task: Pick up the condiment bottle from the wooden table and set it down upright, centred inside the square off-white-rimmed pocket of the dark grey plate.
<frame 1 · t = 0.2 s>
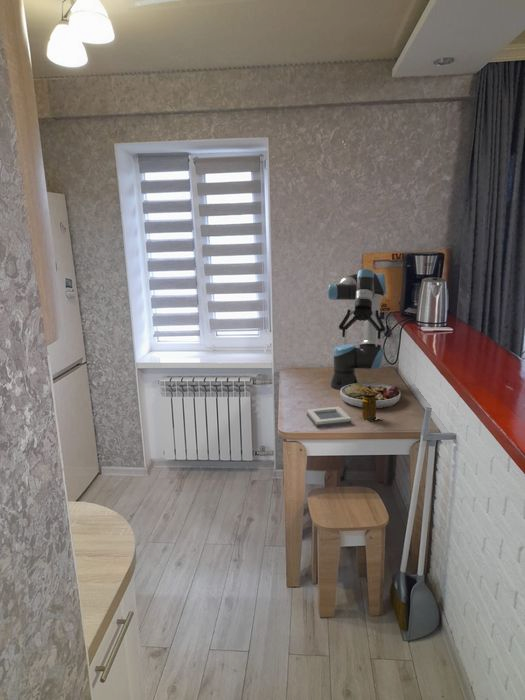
hand: (360, 344, 207), 35 cm above the table, tool tilted 35°, fingers open, 13 cm apart
condiment: (370, 419, 215), on the table
bowl: (369, 400, 240), on the table
pocket plate: (328, 419, 215), on the table
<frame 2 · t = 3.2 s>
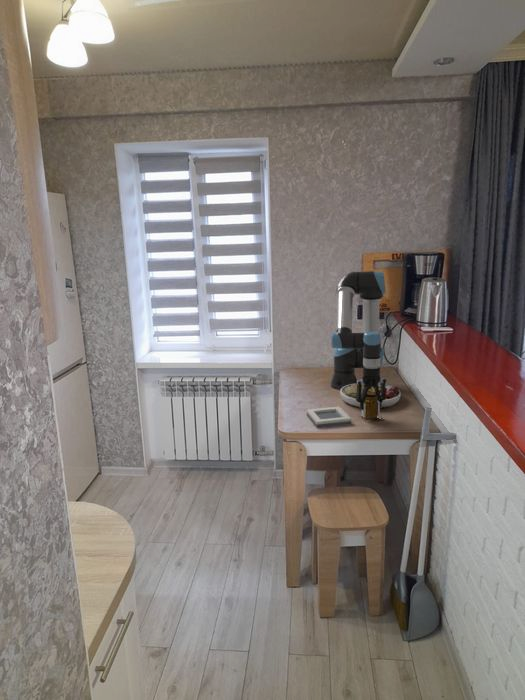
hand: (370, 415, 214), 2 cm above the table, tool pointing down, fingers closed on condiment, 6 cm apart
condiment: (372, 418, 215), on the table, touching gripper
everything else where it was.
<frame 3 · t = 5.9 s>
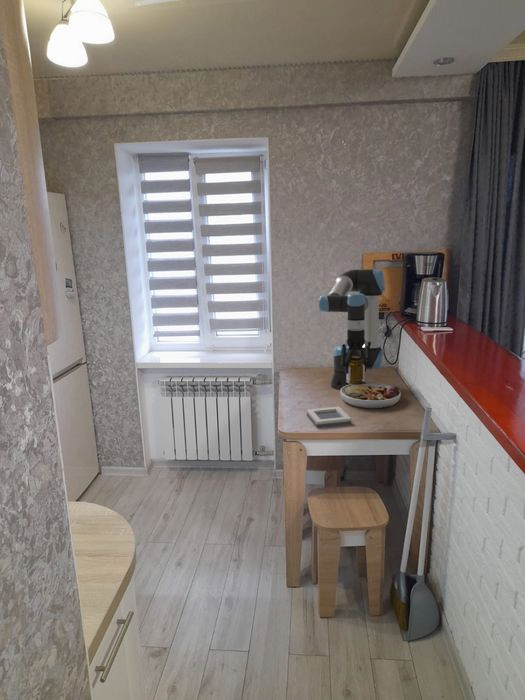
hand: (355, 379, 211), 19 cm above the table, tool pointing down, fingers closed on condiment, 6 cm apart
condiment: (357, 383, 211), point 17 cm above the table, touching gripper
everything else where it was.
when the fingers open (5 cm above the table, at t = 8.9 s): condiment drops 2 cm, resting on pocket plate.
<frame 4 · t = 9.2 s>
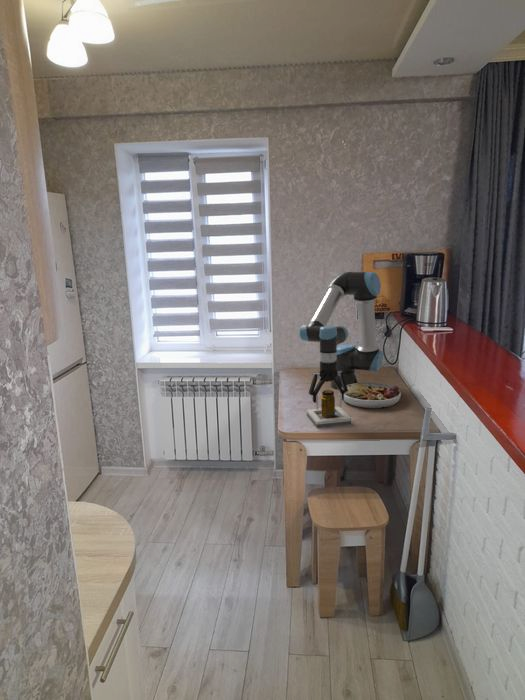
hand: (328, 407, 214), 6 cm above the table, tool pointing down, fingers open, 10 cm apart
condiment: (330, 416, 215), point 1 cm above the table, touching pocket plate
everything else where it was.
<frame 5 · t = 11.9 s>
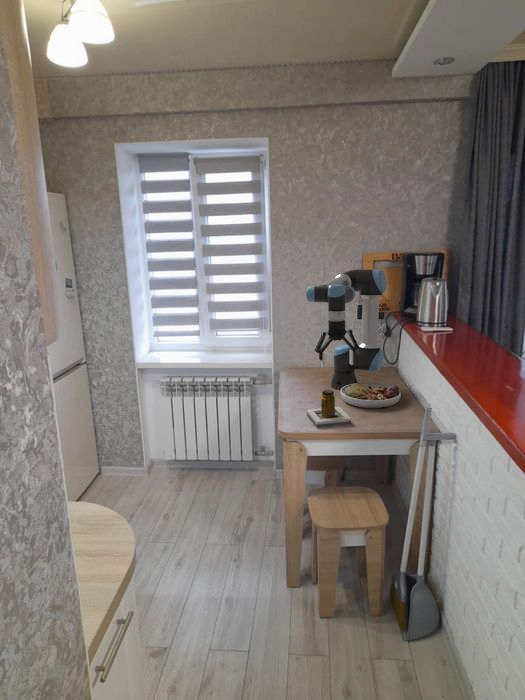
hand: (337, 365, 213), 24 cm above the table, tool pointing down, fingers open, 13 cm apart
nothing on the table moved.
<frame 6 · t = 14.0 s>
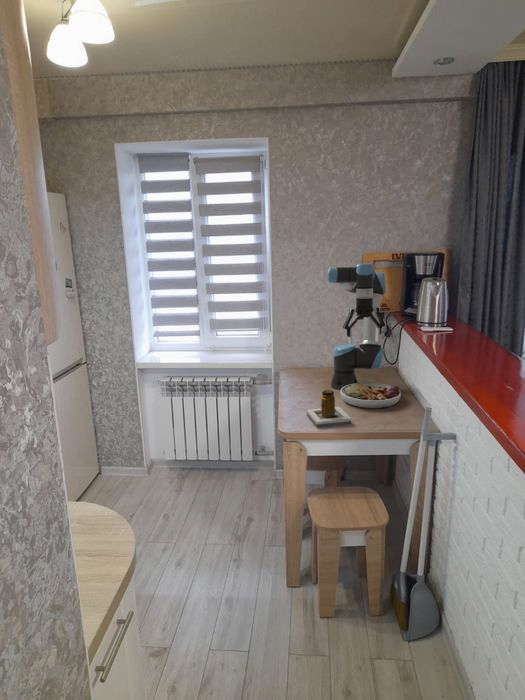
hand: (363, 342, 221), 33 cm above the table, tool pointing down, fingers open, 13 cm apart
nothing on the table moved.
at the end: condiment 0.8 cm off-centre on the pocket plate, point 1.3 cm above the pocket plate's base; condiment tilted 0°; the gripper is holding nothing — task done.
